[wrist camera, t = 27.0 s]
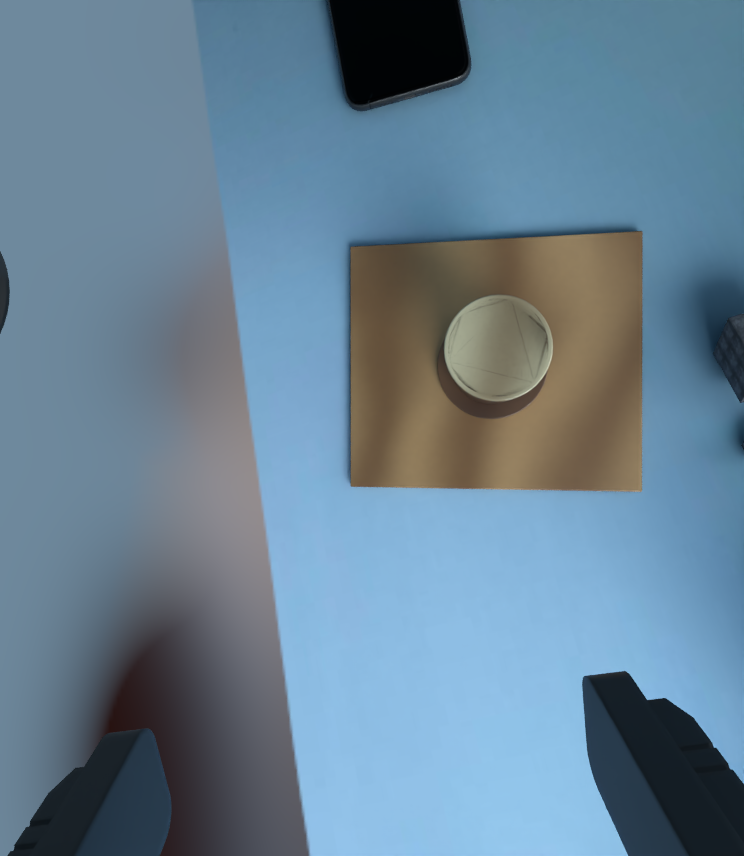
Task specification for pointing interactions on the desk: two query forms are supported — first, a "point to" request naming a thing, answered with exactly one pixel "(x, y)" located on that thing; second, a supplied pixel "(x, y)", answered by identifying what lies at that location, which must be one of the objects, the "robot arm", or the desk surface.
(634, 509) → the desk surface
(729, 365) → the building blocks
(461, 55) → the smartphone
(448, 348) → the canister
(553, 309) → the cork mat
